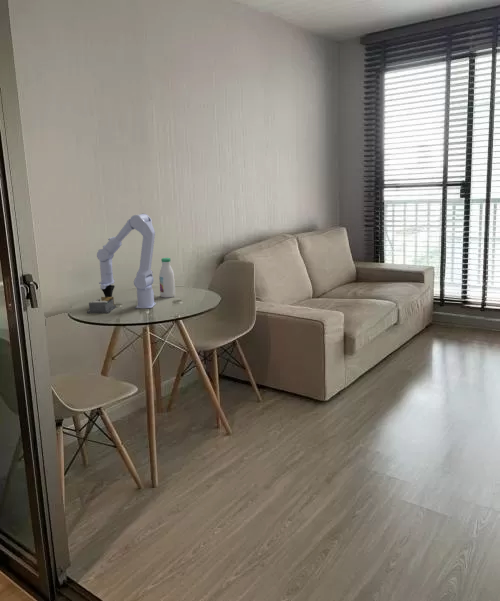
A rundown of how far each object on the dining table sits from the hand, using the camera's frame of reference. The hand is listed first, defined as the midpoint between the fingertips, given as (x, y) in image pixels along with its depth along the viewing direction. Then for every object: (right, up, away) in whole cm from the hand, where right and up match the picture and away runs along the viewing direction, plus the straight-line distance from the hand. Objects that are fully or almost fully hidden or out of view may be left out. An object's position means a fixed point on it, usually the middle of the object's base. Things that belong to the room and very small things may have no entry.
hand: (108, 300), depth 265 cm
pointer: (-1, -4, -12) cm, 13 cm away
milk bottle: (+26, +2, +17) cm, 31 cm away
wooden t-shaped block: (0, -4, -5) cm, 6 cm away
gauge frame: (-1, -5, -9) cm, 10 cm away
